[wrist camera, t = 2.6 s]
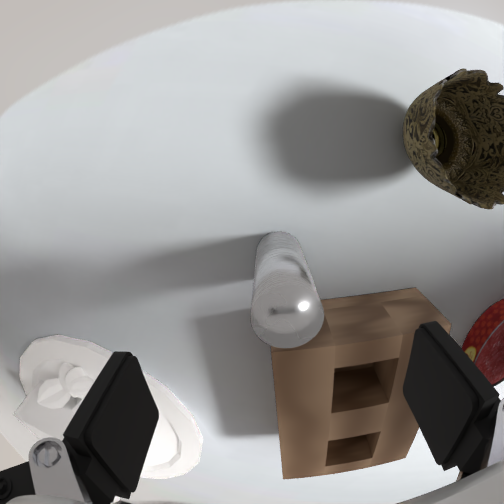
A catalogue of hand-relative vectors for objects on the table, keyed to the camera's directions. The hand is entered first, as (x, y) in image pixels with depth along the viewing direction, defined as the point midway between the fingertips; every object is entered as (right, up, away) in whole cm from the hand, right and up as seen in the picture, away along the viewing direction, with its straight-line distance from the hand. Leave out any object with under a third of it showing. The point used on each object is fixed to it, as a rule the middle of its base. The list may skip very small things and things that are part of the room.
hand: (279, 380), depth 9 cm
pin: (+1, +4, +12) cm, 13 cm away
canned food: (+25, -5, +15) cm, 30 cm away
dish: (-19, -16, +20) cm, 32 cm away
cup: (+11, +12, +9) cm, 19 cm away
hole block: (+7, -7, +16) cm, 19 cm away
